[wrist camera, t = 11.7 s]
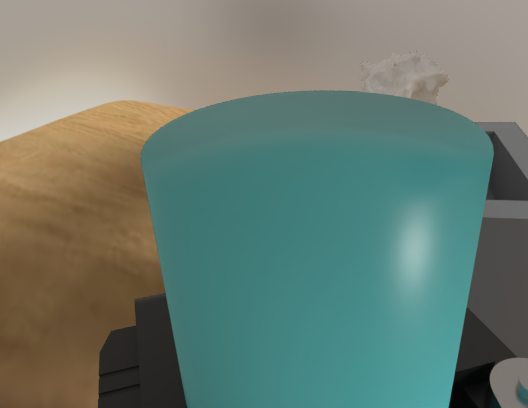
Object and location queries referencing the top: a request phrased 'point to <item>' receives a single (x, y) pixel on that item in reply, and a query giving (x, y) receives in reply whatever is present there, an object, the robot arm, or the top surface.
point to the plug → (317, 247)
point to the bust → (404, 77)
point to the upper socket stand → (504, 241)
